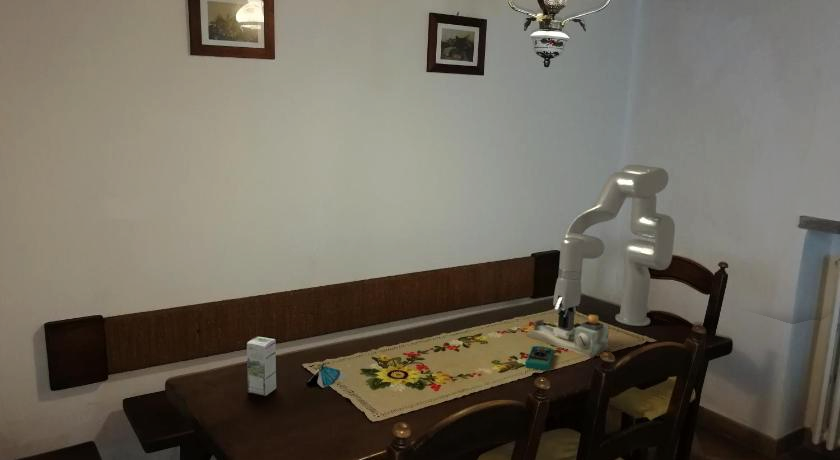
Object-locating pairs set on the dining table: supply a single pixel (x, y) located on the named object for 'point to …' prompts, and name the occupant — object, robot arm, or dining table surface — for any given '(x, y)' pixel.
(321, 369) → the decorative butterfly
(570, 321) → the carriage
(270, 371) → the syrup box
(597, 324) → the rail bed
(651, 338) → the dining table surface
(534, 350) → the digital multimeter
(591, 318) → the button
